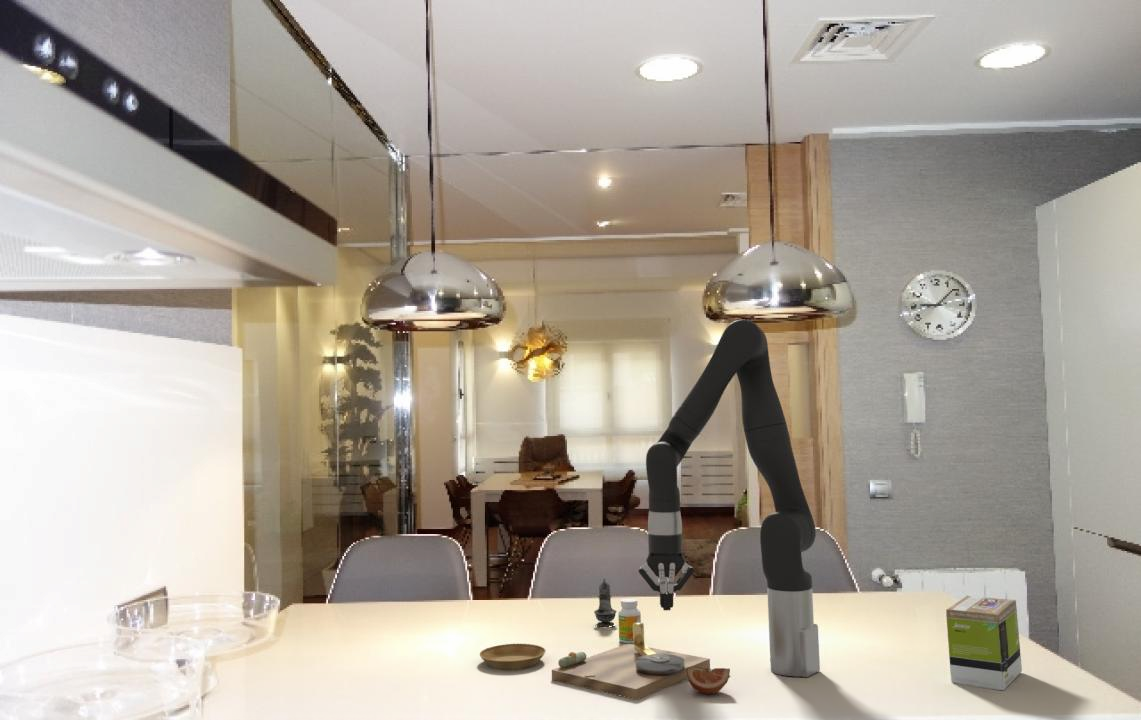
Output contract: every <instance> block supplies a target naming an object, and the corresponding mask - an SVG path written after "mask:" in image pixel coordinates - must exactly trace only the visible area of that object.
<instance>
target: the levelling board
mask: <svg viewBox="0 0 1141 720" xmlns="http://www.w3.org/2000/svg"><path fill="white" fill-rule="evenodd" d="M647 647H648V648H650V649H651V650H652V651H654V652H655V653H656V654H671V655H676V656H680V657H682V658H683V659H684V664H685V669H684V670H683V671H681V672H679V673H675V674H668V675H652V674H646V673H642V672H639V671H638V670H637V669H636V659H637V658H638V657H641V656H642V655H641V654H639V653H638V652H637V651H636V650H635V649H634V644H633V643H624V644H622V645H620V646H618V647H614V648H611V649H609V650H605V651H603V652H600V653H597V654H594V655H591V656H588V657H587V654H586V653H585V652H584V651H579V652H575V651H571V652H569V653H568V655H567V656H564V657H561V658H560V659H559V660H558V661H557V662H558V666H559V667H556V668H552V669H551V680H552V681H556V682H560V683H565V684H567V685H568V684H569V685H573V686H577V687H581V688H586V689H589V690H593V689H594V691H597V690H598V692H602V691H603V692H602V693H606V692H608V693H607V694H610V693H612V694H611V695H614V694H616V695H615V696H618V695H621V696H620V697H623V696H625V697H624V698H627V697H629V698H628V699H631V698H633V699H632V700H635V699H637V700H639V699H642V698H644V697H646V695H647V696H649V695H651V694H653V692H654V693H656V692H658V691H660V690H662V689H665V688H668V687H669V686H673V685H675V684H677V683H679V682H682V681H684V680H686V679H688V678H687V667H697V668H706V669H708V670H711V659H710V658H707V657H702V656H697V655H691V654H687V653H686V654H685V653H680V652H676V651H669V650H665V649H660V648H654V647H649V646H647ZM648 694H649V695H648ZM643 696H644V697H643ZM641 697H642V698H641ZM638 698H639V699H638Z"/></svg>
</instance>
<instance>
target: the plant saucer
mask: <svg viewBox="0 0 1141 720" xmlns="http://www.w3.org/2000/svg"><path fill="white" fill-rule="evenodd" d="M546 652H547V651H546V648H545V647H542V646H540V645H536V644H531V643H508V644H507V643H505V644H499V645H494V646H490V647H487V648H484V649H483V650H481V651H480V652H479V656H480V658H481V660H482V661H484V663H486V664H487V665H488V666H489V667H490V668H492V669H498V670H521V669H527V668H530V667H533V666H535V665H536V664H538V663H539V662H540V660H541V659H542V658H543V657H544V655H545V653H546Z"/></svg>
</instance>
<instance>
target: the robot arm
mask: <svg viewBox="0 0 1141 720" xmlns="http://www.w3.org/2000/svg"><path fill="white" fill-rule="evenodd" d="M735 375H736V376H737V380H738V383H739V388H740V392H741V393H740V394H741V395H740V396H741V417H742V419H741V420H742V426H743V427H742V428H743V432H744V436H745V441H746V445H747V449H748V453H749V456H750V458H751V460H752V461H753V463H754V465H755V467H756V469H757V470H758V471H759V473H760V474H761V476H762V477H763V479H764V481H765V482H766V484H767V486H768V487H769V491H770V493H771V497H772V501H773V506H774V510H775V512H772V513H770V514H768V515H767V516H765V517H764V519H763V521H762V523H761V525H760V526H761V527H760V531H759V533H760V534H759V535H760V536H759V538H760V539H759V541H760V553H761V566H762V571H763V574H764V576H765V579H766V584H767V588H766V589H767V591H766V592H767V610H768V611H767V612H768V613H767V614H768V632H769V633H768V634H769V636H768V637H769V639H768V640H769V641H768V642H769V656H770V658H769V661H770V671H771V672H773V674H777V675H781V676H785V677H802V678H803V677H804V678H808V677H810V676H813V675H814V674H817V673H818V672H820V671H821V664H820V661H821V660H820V645H819V644H820V643H819V641H820V640H819V626H818V624H817V623H815V622H814V620H815V619H814V618H815V617H814V600H813V596H814V595H813V577H812V575H811V573H809V572H808V571H806V570H805V569H804V567H803V558H802V556H803V555H802V552H806V551H808V550H809V549H810V548H811V547H812V546H813V545H814V542H815V540H816V536H817V535H816V533H817V530H816V524H815V522H814V518H813V515H812V512H811V509H810V507H809V503H808V500H807V498H806V495H805V492H804V490H803V487H802V483H801V480H800V475H799V471H798V470H799V469H798V467H797V463H796V459H795V455H794V451H793V448H792V442H791V438H790V437H791V436H790V433H789V429H788V424H787V421H786V418H785V414H784V411H783V407H782V403H781V401H780V399H779V395H778V393H777V390H776V387H775V384H774V380H773V375H772V369H771V363H770V354H769V347H768V339H767V336H766V334H765V332H764V331H763V330H762V329H761V327H759V325H758V324H756V323H755V322H753V321H751V320H748V319H737V320H734V321H732V322H731V323H729V324H728V325H726V328H725V329H724V331H723V332H722V335H721V336H720V338H719V341H718V343H717V345H716V347H715V349H714V352H713V353H712V355H711V357H710V359H709V361H708V363H707V365H706V367H705V368H704V370H703V371H702V373H701V375H700V376H699V378H698V379H697V381H696V383H695V384H694V386H692V389H691V390H690V391H689V393H688V394H687V396H686V397H685V398H684V399H683V401H682V403H681V404H680V405H679V407H678V409H677V410H676V411H675V413H674V415H673V416H672V417H671V419H670V421H669V423H668V427H667V428H666V430H665V431H664V432H663V434H662V435H661V437H660V438H659V440H658V441H657V442H655V443H654V444H652V445H651V446H650V447H649V448H648V450H647V452H646V455H645V456H646V457H645V467H646V478H647V484H648V485H647V486H648V518H647V520H648V521H647V527H648V528H647V530H648V531H647V532H648V533H647V534H648V536H647V539H648V540H647V541H648V544H647V545H648V555H647V558H646V562H645V563H644V564H643V565H642V566H638V568H637V571H638V574H640V576H641V577H642V578H643V579H644V581H645V582H646V583H647V585H648V586H649V587H650V588H651V589H652V591H654V592H657V593H659V605H660V607H661V609H662V608H663V609H662V610H663V611H671V610H672V608H673V607H674V593H676V592H678V591H681V590H682V589H683V587H684V585H685V584H686V583H688V580H689V579H690V578H691V576H692V575H693V573H694V572H695V569H694V567H693V566H692V565H689V564H688V563H687V562H686V560H685V558H684V556H683V526H682V525H683V524H682V523H683V522H682V516H681V515H682V514H681V494H680V488H679V486H678V467H679V465H680V463H682V460H683V459H684V457H685V456H686V454H687V452H688V451H689V449H690V447H691V445H692V443H693V442H694V441H695V440H696V438H697V437H698V436H699V435H700V434H701V432H702V431H703V430H704V428H705V426H706V425H707V423H708V422H709V421H710V419H711V417H712V416H713V414H715V411H716V409H717V407H718V405H719V402H720V401H721V399H722V396H723V394H724V393H725V391H726V388H727V387H728V385H729V383H730V382H731V380H732V379H733V378H734V376H735ZM649 569H650V570H651V571H652V573H653V574H654V575H655V576H656V577H657V581H658V584H657V583H655V581H654V580H653V578H651V576H650V575H649V574H650V570H649ZM680 571H682V574H681V575H680V576H679V578H678V580H677V581H676V582H675V577H676V576H677V575H678V574H679V573H680Z"/></svg>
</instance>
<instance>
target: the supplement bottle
mask: <svg viewBox="0 0 1141 720" xmlns="http://www.w3.org/2000/svg"><path fill="white" fill-rule="evenodd" d="M638 605H639V604H638V599H636V598H623V599H621V600H620V606H621V608H620V609H619V610H618V638H619V639H618V640H619V642H620V641H621V643H622V642H624V643H623V644H633V623H637V622H640V623H642V615H641V610H640V609H639V608H637V607H638Z"/></svg>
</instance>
